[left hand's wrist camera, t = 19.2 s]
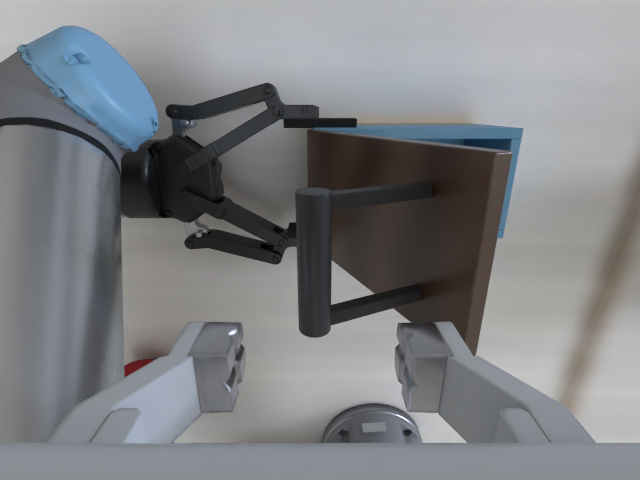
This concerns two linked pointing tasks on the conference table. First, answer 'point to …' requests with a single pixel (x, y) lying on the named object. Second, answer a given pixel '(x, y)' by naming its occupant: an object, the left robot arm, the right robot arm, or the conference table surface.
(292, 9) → the conference table surface
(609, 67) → the conference table surface
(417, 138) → the chest
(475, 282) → the lid
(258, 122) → the right robot arm
